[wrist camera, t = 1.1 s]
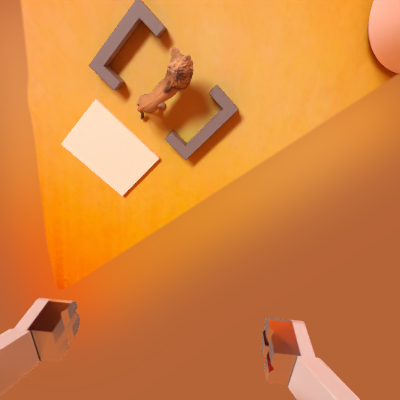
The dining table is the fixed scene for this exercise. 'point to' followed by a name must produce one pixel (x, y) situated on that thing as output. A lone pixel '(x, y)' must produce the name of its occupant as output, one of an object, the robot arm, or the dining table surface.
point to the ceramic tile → (109, 148)
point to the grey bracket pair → (101, 67)
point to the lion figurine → (168, 83)
